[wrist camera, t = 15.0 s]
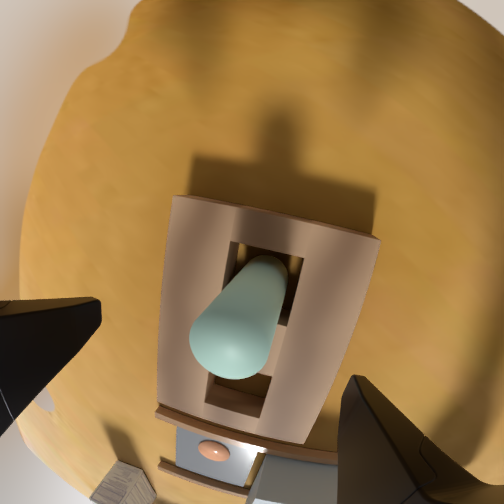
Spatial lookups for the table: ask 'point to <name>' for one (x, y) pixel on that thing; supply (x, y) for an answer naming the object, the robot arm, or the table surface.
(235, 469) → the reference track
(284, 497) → the cover
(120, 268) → the table surface
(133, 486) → the medicine box
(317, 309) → the board
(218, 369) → the teal peg
